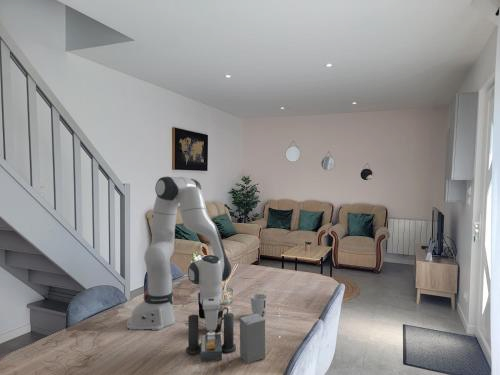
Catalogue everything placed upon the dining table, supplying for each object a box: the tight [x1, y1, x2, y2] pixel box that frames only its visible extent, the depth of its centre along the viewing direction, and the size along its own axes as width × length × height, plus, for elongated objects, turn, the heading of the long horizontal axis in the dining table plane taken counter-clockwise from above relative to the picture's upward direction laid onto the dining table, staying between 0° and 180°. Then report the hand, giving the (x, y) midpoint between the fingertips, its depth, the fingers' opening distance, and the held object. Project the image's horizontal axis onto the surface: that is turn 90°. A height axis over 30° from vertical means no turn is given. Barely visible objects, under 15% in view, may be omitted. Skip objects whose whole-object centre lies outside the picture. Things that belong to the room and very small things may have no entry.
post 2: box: [221, 312, 237, 354], centre depth 136 cm, size 6×6×14 cm
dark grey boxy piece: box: [200, 333, 223, 363], centre depth 135 cm, size 8×14×4 cm, turn 7°
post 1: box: [185, 314, 201, 356], centre depth 135 cm, size 6×6×14 cm
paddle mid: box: [207, 336, 215, 343], centre depth 135 cm, size 3×2×2 cm
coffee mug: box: [207, 304, 229, 334], centre depth 154 cm, size 12×9×10 cm
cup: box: [250, 293, 268, 318], centre depth 168 cm, size 8×8×10 cm
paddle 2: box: [206, 341, 215, 350], centre depth 131 cm, size 3×2×2 cm
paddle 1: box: [206, 331, 216, 337], centre depth 139 cm, size 3×2×2 cm
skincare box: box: [239, 313, 266, 364], centre depth 130 cm, size 8×7×16 cm
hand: (211, 331), depth 134 cm, fingers closed
